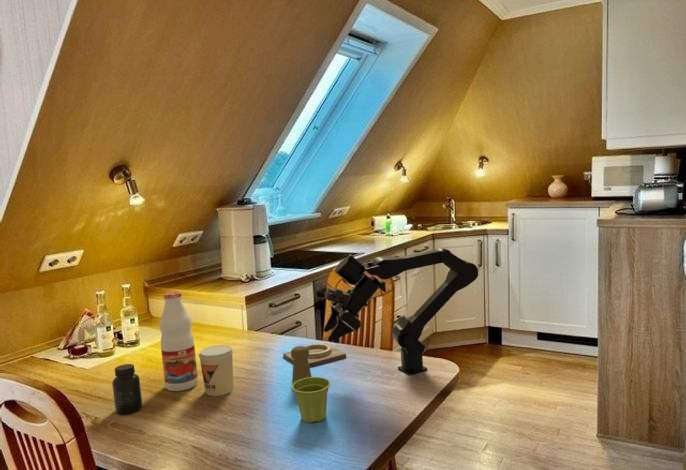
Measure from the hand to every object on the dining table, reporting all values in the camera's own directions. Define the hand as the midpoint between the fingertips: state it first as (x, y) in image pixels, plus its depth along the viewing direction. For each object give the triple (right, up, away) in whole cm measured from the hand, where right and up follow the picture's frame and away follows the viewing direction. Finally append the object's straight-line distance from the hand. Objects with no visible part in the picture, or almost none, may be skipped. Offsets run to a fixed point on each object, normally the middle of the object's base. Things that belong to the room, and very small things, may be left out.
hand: (326, 335), depth 158 cm
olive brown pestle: (-7, -14, 0) cm, 16 cm away
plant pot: (-3, -17, -21) cm, 27 cm away
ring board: (-5, -11, +22) cm, 25 cm away
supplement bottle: (-53, -18, -10) cm, 57 cm away
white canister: (-31, -16, -1) cm, 34 cm away
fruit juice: (-43, -16, +5) cm, 46 cm away
